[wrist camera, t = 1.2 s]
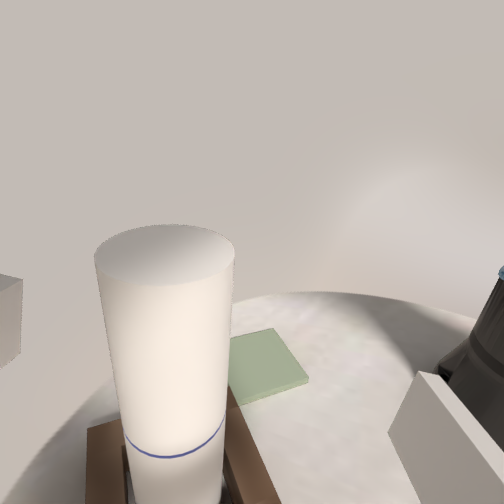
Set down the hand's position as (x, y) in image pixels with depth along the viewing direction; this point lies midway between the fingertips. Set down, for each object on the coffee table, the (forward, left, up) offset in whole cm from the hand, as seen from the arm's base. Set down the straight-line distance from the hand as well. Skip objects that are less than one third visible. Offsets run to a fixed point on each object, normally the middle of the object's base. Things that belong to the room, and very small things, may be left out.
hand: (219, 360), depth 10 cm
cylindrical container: (0, -8, -25) cm, 26 cm away
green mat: (-13, -20, -25) cm, 34 cm away
